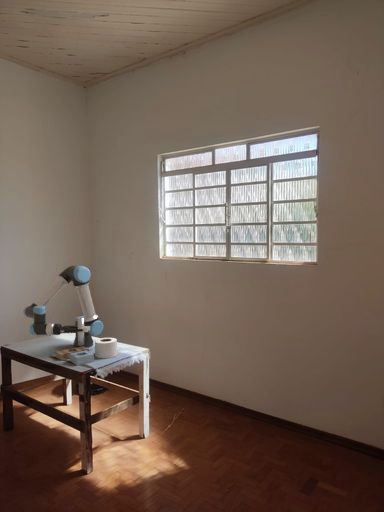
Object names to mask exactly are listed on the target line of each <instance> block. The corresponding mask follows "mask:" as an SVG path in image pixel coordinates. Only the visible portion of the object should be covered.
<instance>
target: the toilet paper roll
mask: <svg viewBox="0 0 384 512" xmlns="http://www.w3.org/2000/svg"><path fill="white" fill-rule="evenodd" d="M117 355H118V339H117V338H116V337H103V338H101V337H100V338H98V339H97V338H96V339H95V340H94V358H98V359H110V358H113V357H116V356H117Z"/></svg>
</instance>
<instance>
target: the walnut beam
mask: <svg viewBox="0 0 384 512" xmlns="http://www.w3.org/2000/svg"><path fill="white" fill-rule="evenodd" d="M85 350H87V351H89V352H90V349H89V347H84V346H81V347H76V348H75V347H70V348H67V349H62V350H61V349H60V350H56V351H55V358H56V359H58V360H60V361H65V360H70V354H71V353H76V352H81V351H85Z"/></svg>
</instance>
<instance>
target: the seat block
mask: <svg viewBox="0 0 384 512" xmlns="http://www.w3.org/2000/svg"><path fill="white" fill-rule="evenodd" d="M69 362H71V363H72V364H74V365H76V366H81V365H85V364H89V363H93V362H95V353H92V352H90V350H89V351H87V350H85V351H81V352H76V353H71V354H70V359H69Z"/></svg>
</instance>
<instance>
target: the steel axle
mask: <svg viewBox="0 0 384 512" xmlns="http://www.w3.org/2000/svg"><path fill="white" fill-rule="evenodd" d="M78 328H84V318H78ZM78 345H84V332H78Z"/></svg>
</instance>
